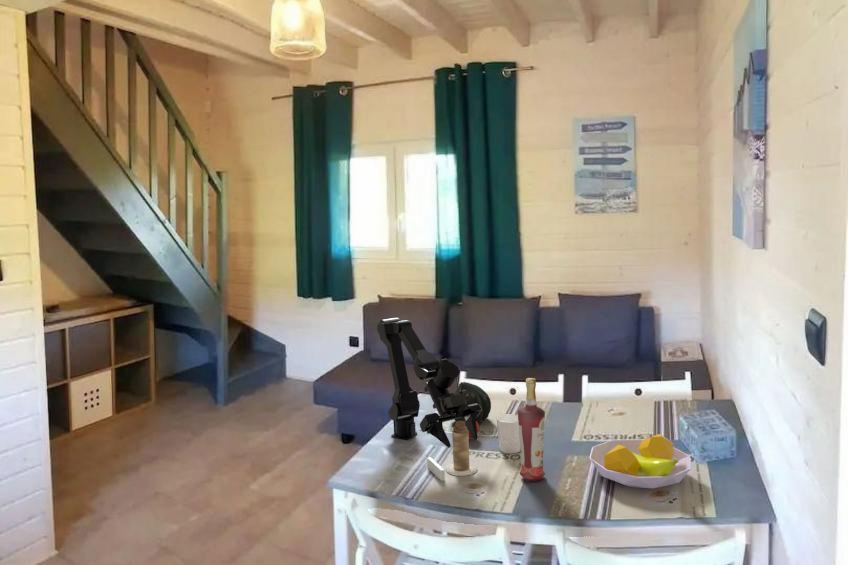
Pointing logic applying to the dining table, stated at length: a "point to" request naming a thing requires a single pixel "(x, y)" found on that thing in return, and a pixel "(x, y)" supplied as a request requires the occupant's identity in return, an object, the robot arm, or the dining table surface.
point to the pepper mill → (460, 447)
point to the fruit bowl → (641, 462)
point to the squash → (475, 399)
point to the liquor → (531, 435)
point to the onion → (476, 427)
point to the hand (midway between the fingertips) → (463, 443)
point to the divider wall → (436, 469)
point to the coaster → (461, 473)
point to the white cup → (508, 433)
